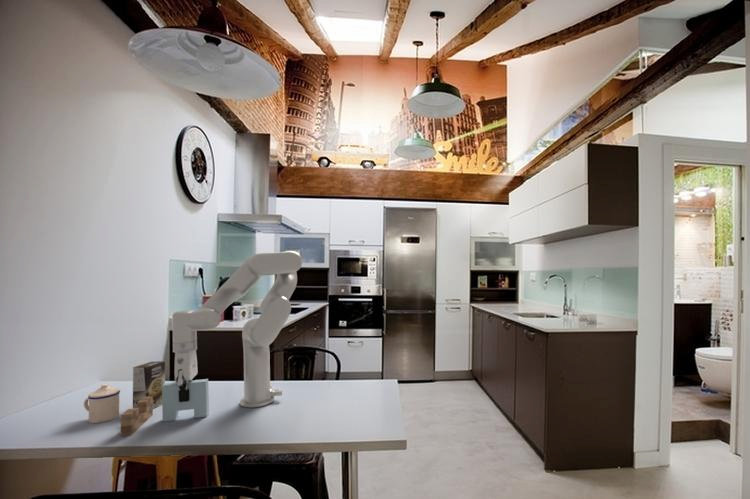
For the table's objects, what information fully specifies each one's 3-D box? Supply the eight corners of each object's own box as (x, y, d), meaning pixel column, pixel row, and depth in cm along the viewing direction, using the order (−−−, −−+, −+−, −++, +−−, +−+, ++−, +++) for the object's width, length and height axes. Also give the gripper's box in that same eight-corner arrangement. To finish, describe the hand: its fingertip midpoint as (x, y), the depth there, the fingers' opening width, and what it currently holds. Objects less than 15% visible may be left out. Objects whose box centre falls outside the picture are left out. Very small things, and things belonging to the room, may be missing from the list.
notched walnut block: (143, 415, 128) (143, 397, 128) (152, 415, 129) (152, 396, 129) (120, 436, 112) (120, 414, 113) (131, 435, 113) (131, 413, 113)
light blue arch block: (208, 413, 128) (208, 378, 129) (206, 416, 125) (205, 381, 126) (165, 417, 125) (165, 382, 126) (162, 421, 122) (162, 385, 123)
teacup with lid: (126, 413, 131) (126, 380, 132) (105, 423, 122) (105, 388, 123) (95, 413, 132) (95, 380, 133) (72, 423, 123) (73, 389, 124)
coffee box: (146, 412, 131) (146, 367, 132) (131, 411, 133) (132, 367, 134) (165, 403, 140) (165, 360, 141) (151, 402, 142) (151, 360, 142)
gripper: (189, 350, 119) (190, 407, 118) (202, 340, 135) (203, 390, 134) (164, 352, 118) (165, 409, 117) (181, 342, 134) (182, 392, 133)
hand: (185, 398), depth 126 cm, fingers closed on light blue arch block, 3 cm apart
